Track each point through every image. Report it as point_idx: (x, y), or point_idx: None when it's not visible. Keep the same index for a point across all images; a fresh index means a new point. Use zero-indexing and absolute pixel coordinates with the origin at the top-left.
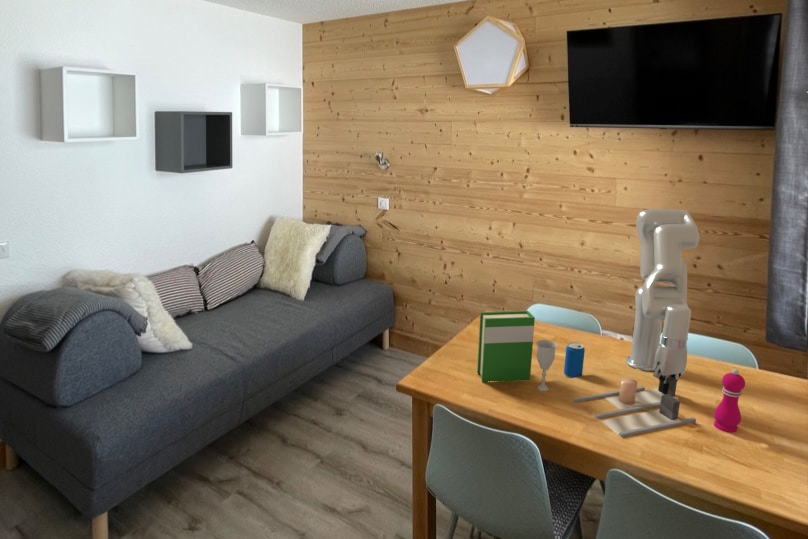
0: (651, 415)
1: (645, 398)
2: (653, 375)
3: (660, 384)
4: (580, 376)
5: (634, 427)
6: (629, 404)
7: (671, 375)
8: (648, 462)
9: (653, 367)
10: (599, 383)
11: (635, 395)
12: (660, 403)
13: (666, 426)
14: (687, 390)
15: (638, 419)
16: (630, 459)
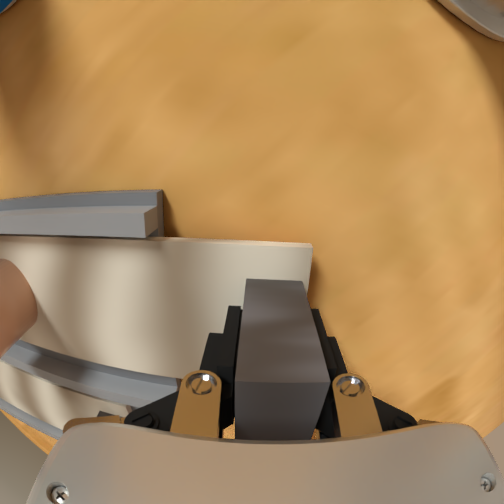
0: (66, 403)
1: (93, 320)
2: (69, 427)
3: (202, 365)
4: (4, 8)
5: (13, 399)
6: None
7: (344, 416)
8: (31, 438)
9: (50, 460)
10: (32, 48)
11: (10, 347)
12: (125, 401)
13: None
14: (454, 284)
15: (25, 390)
16: (9, 419)
